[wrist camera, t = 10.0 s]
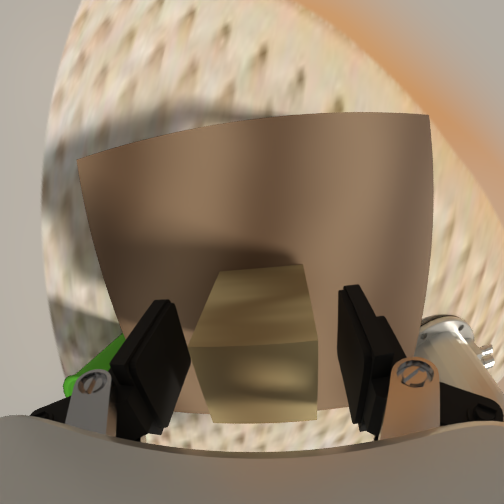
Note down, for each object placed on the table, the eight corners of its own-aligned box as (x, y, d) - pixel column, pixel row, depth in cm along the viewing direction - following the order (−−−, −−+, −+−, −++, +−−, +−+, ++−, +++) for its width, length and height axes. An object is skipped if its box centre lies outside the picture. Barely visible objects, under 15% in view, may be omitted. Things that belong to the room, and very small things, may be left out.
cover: (348, 130, 22) (509, 106, 4) (354, 290, 27) (426, 461, 9) (174, 150, 24) (-7, 176, 6) (203, 303, 29) (132, 471, 11)
